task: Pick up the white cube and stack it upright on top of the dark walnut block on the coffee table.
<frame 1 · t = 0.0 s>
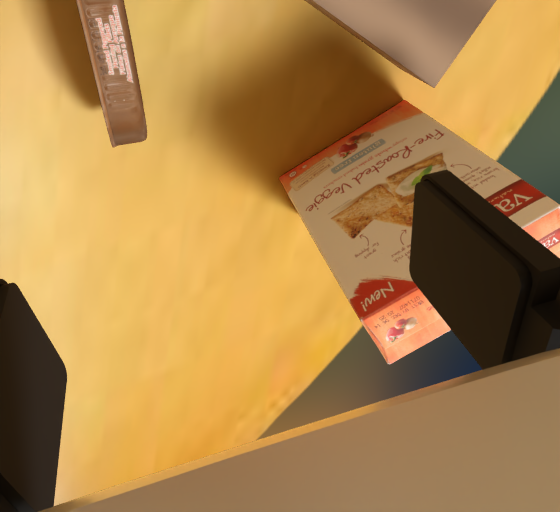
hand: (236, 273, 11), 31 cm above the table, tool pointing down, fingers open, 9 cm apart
tin: (107, 20, 35), on the table
cracker box: (348, 158, 47), on the table
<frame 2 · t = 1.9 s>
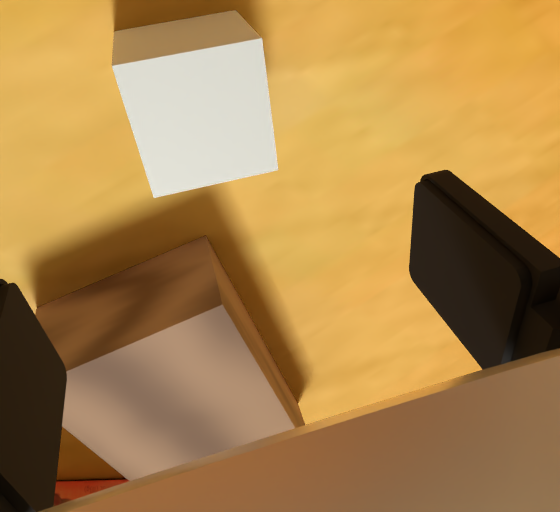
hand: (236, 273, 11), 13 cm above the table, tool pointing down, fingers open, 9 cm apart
white cube: (189, 81, 21), on the table
walnut block: (190, 361, 32), on the table
cracker box: (38, 495, 36), on the table
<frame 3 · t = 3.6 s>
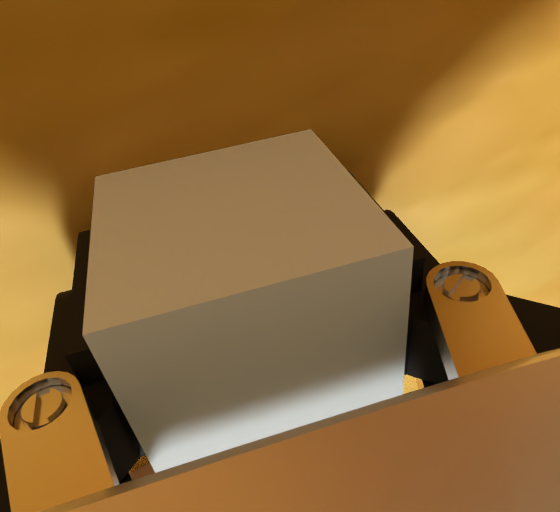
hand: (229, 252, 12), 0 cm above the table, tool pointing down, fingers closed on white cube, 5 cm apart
white cube: (226, 240, 12), on the table, touching gripper
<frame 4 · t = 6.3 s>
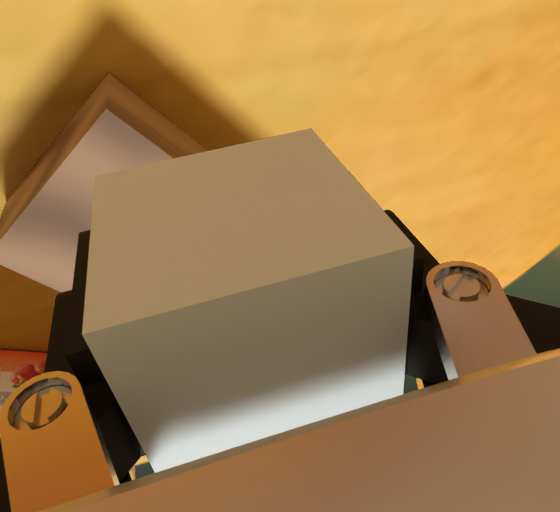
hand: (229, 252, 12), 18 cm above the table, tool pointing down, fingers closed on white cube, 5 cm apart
white cube: (226, 240, 12), point 18 cm above the table, touching gripper
walnut block: (180, 219, 32), on the table
cracker box: (33, 370, 37), on the table
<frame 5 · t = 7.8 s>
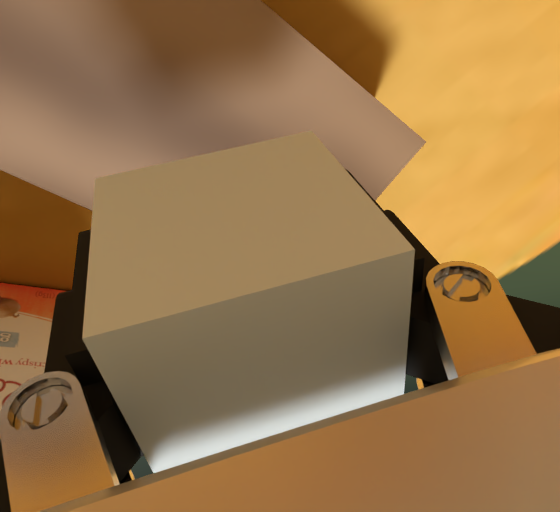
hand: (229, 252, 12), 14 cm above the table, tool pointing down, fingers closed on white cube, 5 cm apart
white cube: (226, 242, 12), point 13 cm above the table, touching gripper
walnut block: (177, 81, 23), on the table
when the fingers open (8 cm above the table, at t = 9.1 s): white cube drops 2 cm, resting on walnut block.
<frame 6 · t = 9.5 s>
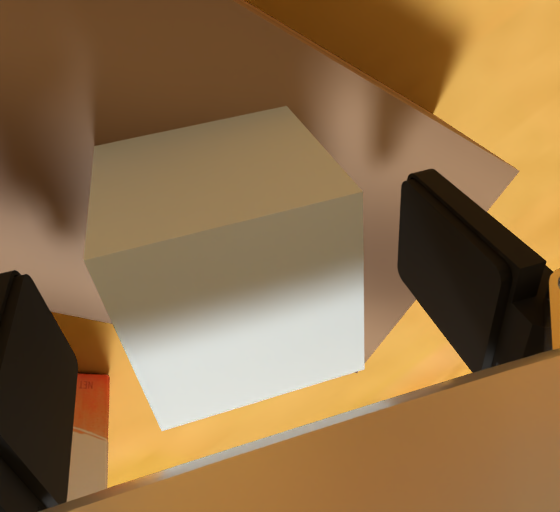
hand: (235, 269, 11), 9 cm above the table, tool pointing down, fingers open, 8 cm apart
white cube: (212, 208, 14), point 6 cm above the table, touching walnut block
walnut block: (190, 131, 18), on the table, touching white cube
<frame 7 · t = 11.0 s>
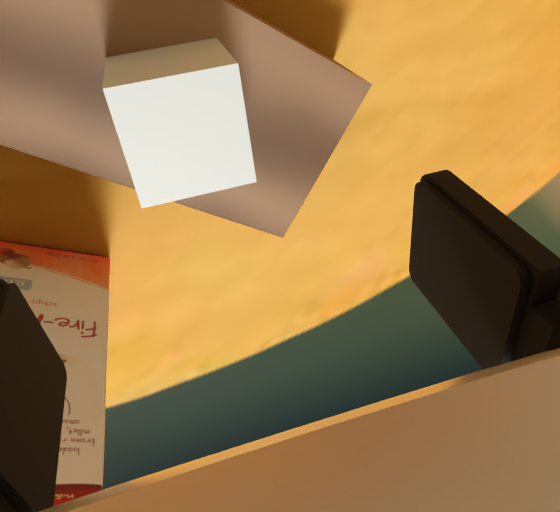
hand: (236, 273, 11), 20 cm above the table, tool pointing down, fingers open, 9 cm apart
white cube: (175, 102, 23), point 6 cm above the table, touching walnut block
walnut block: (163, 70, 28), on the table, touching white cube
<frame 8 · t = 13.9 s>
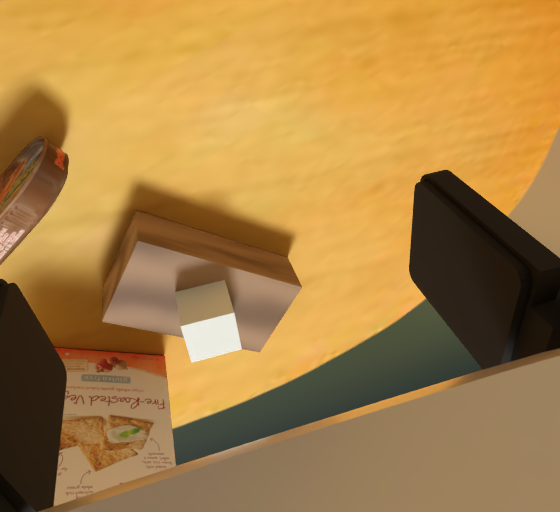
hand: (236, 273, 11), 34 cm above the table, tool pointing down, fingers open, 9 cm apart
white cube: (204, 304, 49), point 6 cm above the table, touching walnut block
walnut block: (198, 269, 54), on the table, touching white cube
tin: (12, 191, 43), on the table
cracker box: (102, 363, 58), on the table
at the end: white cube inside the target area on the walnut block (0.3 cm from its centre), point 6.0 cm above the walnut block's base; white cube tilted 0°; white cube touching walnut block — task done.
